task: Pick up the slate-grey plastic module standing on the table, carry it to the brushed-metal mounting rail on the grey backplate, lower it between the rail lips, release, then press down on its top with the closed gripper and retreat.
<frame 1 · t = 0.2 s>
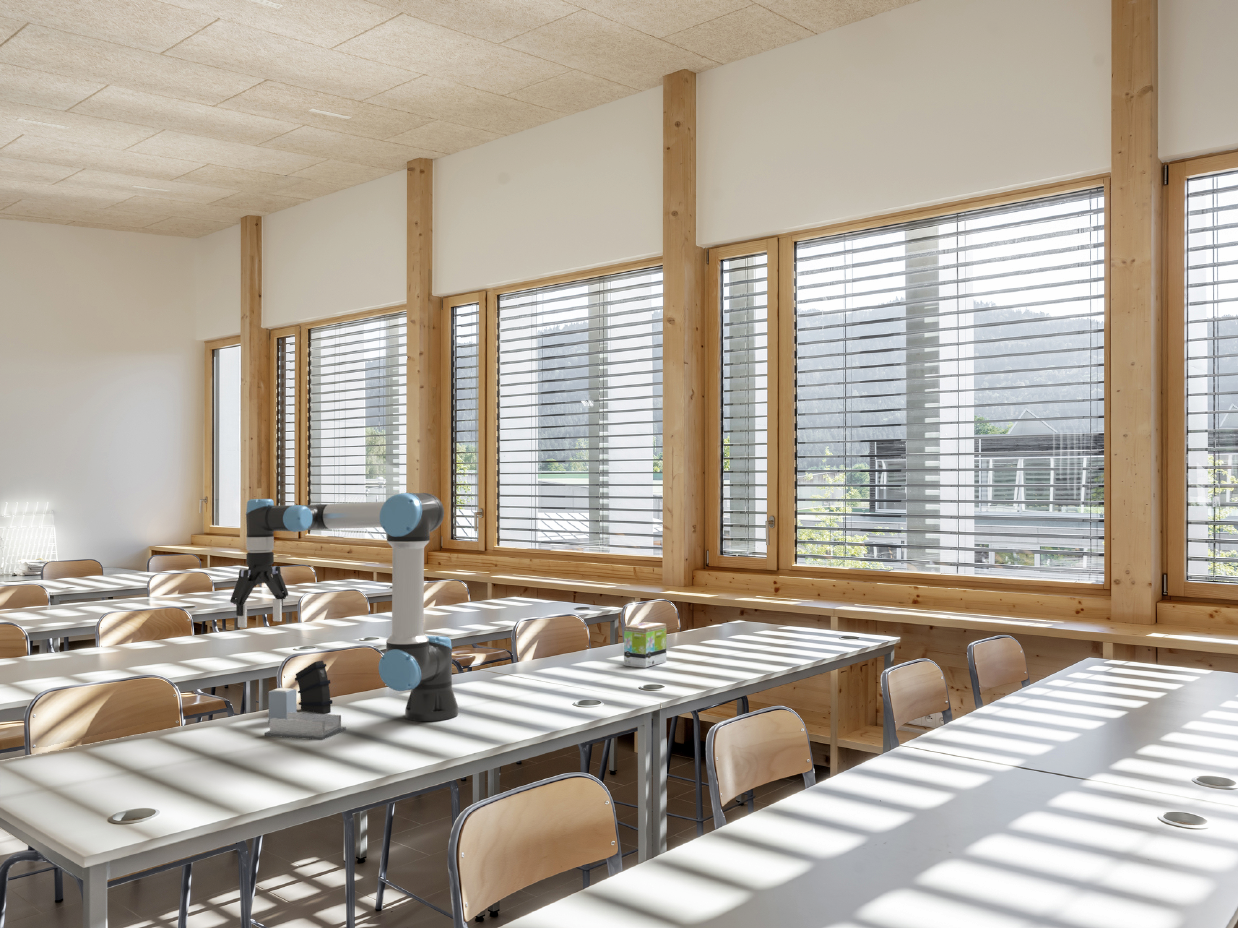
hand: (260, 624, 282), 27 cm above the table, tool pointing down, fingers open, 13 cm apart
rail: (305, 732, 262), on the table
magazine: (313, 711, 288), on the table
tea box: (645, 664, 358), on the table
module: (282, 722, 274), on the table
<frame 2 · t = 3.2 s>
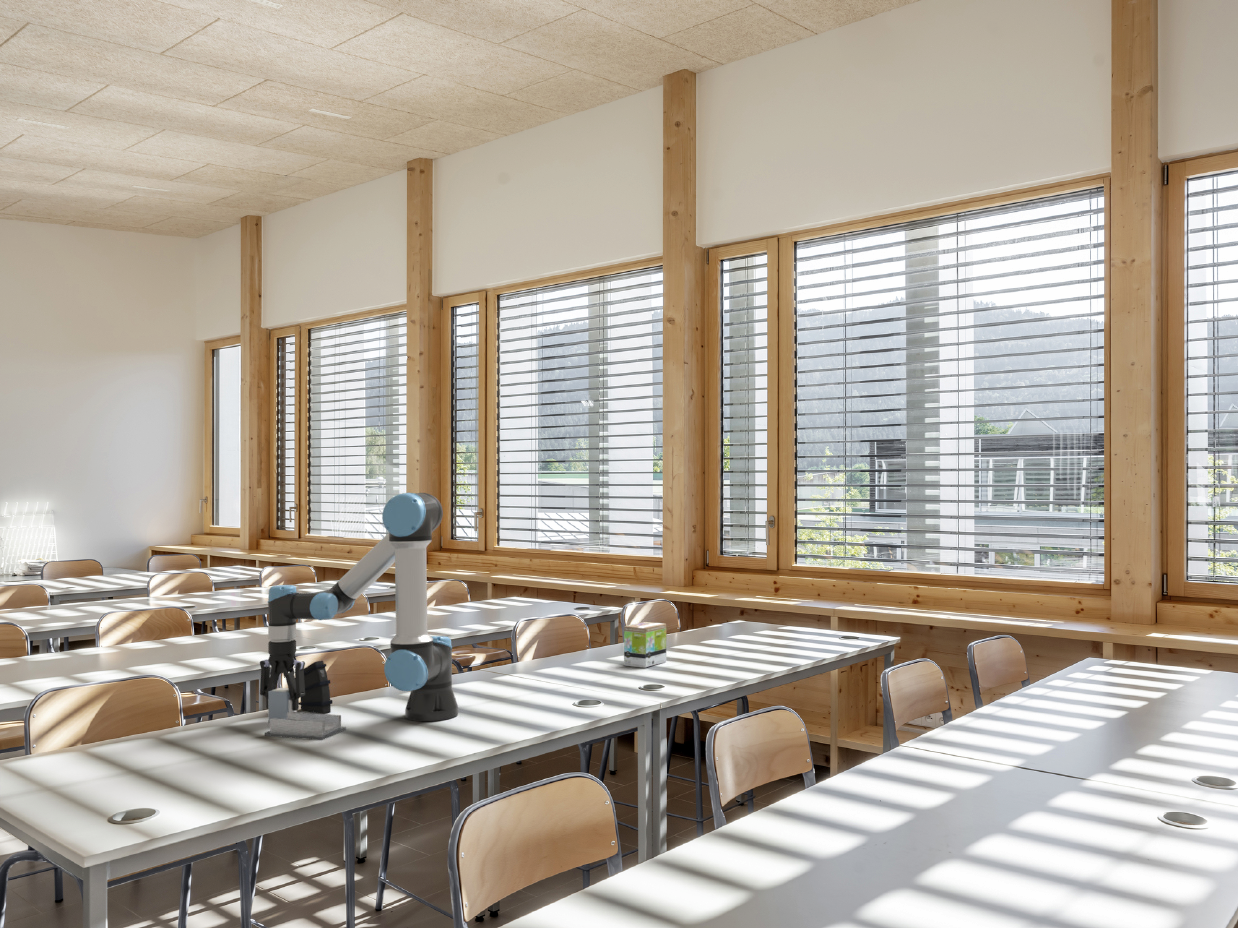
hand: (282, 720, 274), 0 cm above the table, tool pointing down, fingers closed on module, 6 cm apart
module: (282, 721, 274), on the table, touching gripper
everything else where it was.
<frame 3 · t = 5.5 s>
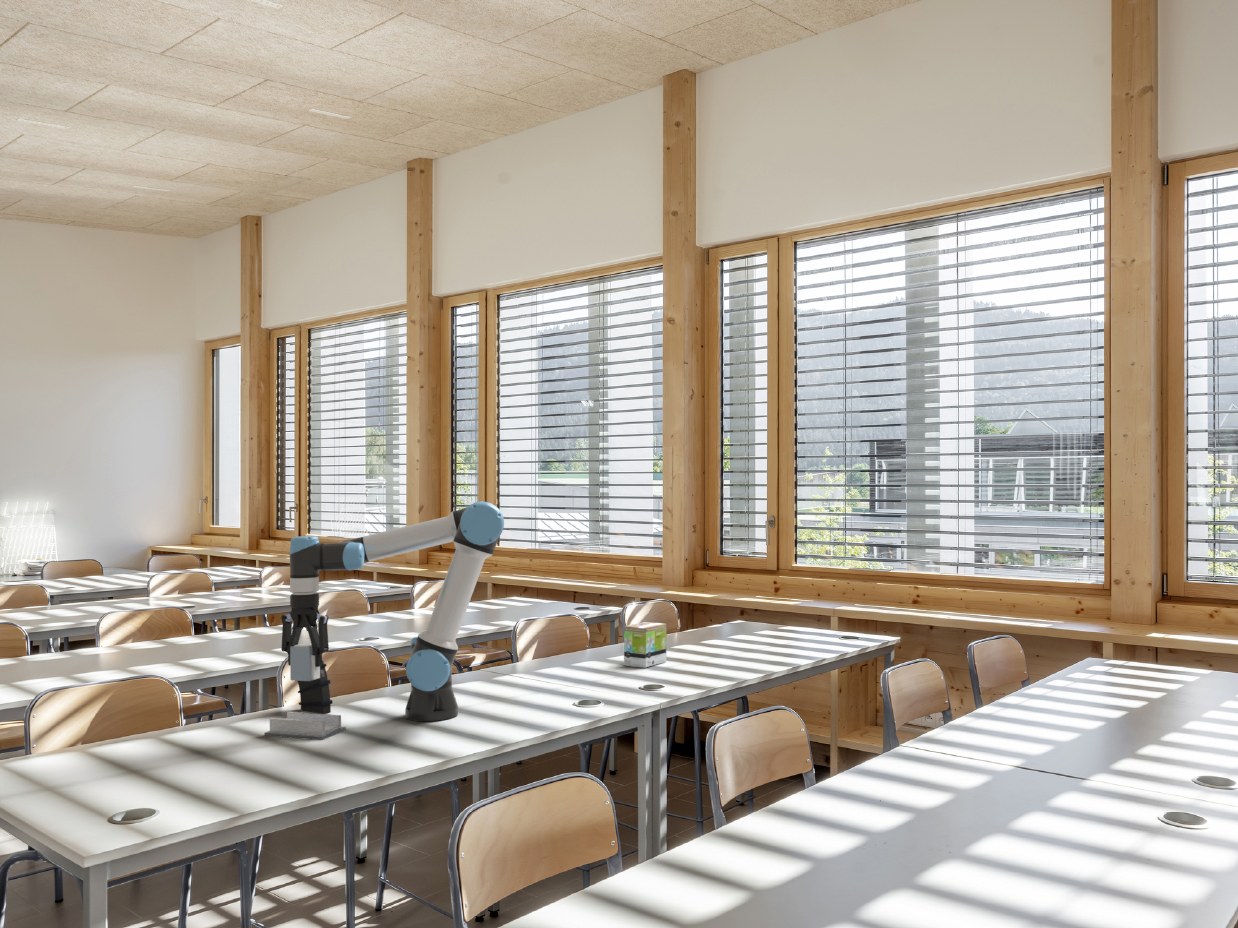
hand: (305, 677, 262), 15 cm above the table, tool pointing down, fingers closed on module, 6 cm apart
module: (305, 678, 262), point 14 cm above the table, touching gripper
everything else where it was.
when the fingers open (3 cm above the table, at t = 7.9 s): module drops 1 cm, resting on rail.
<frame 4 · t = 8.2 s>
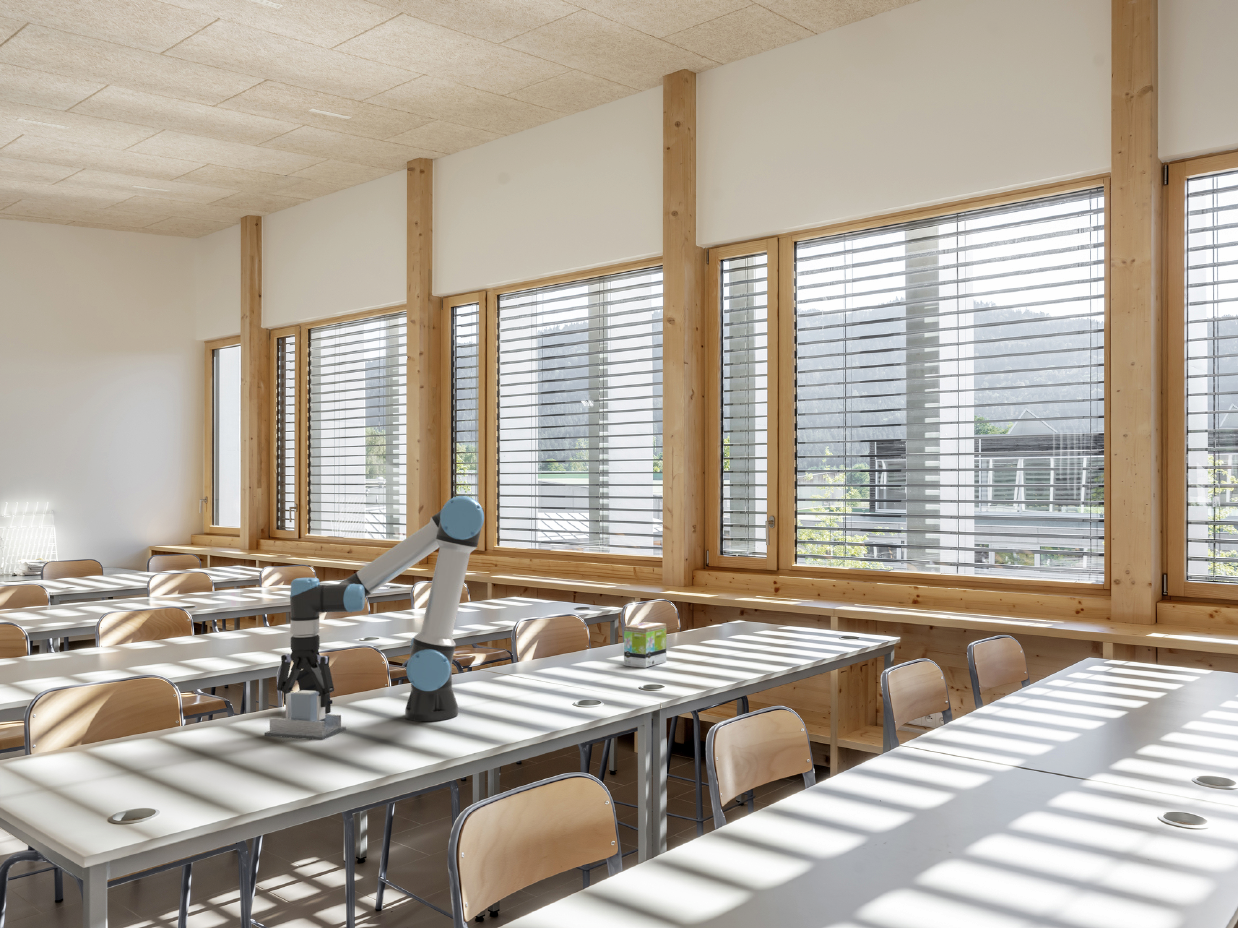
hand: (305, 717, 262), 4 cm above the table, tool pointing down, fingers open, 9 cm apart
module: (305, 725, 262), point 2 cm above the table, touching rail
everything else where it was.
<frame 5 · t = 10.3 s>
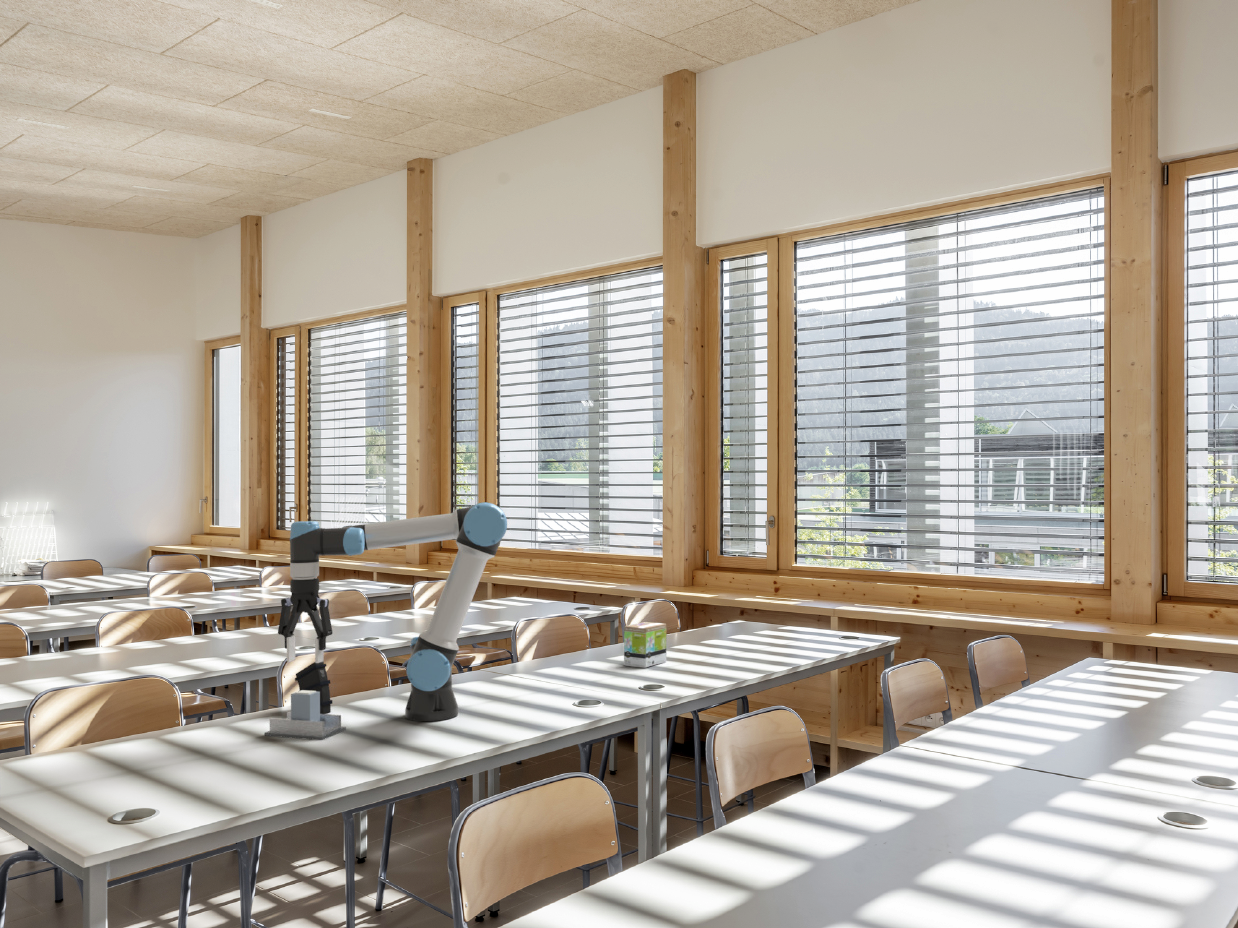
hand: (305, 661, 262), 19 cm above the table, tool pointing down, fingers open, 8 cm apart
nothing on the table moved.
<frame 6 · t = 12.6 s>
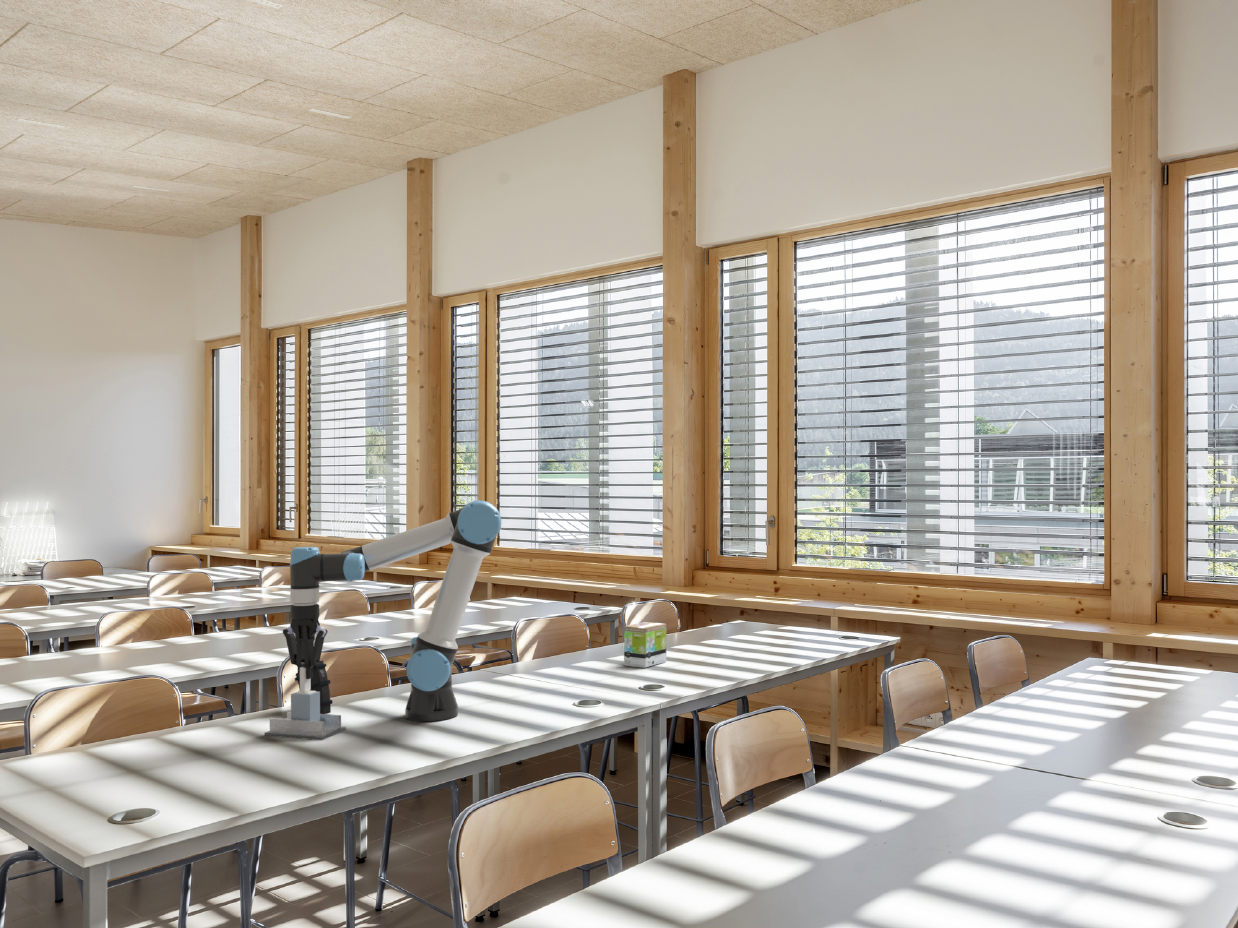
hand: (305, 690, 262), 11 cm above the table, tool pointing down, fingers closed
module: (305, 725, 262), point 2 cm above the table, touching gripper, rail
everything else where it was.
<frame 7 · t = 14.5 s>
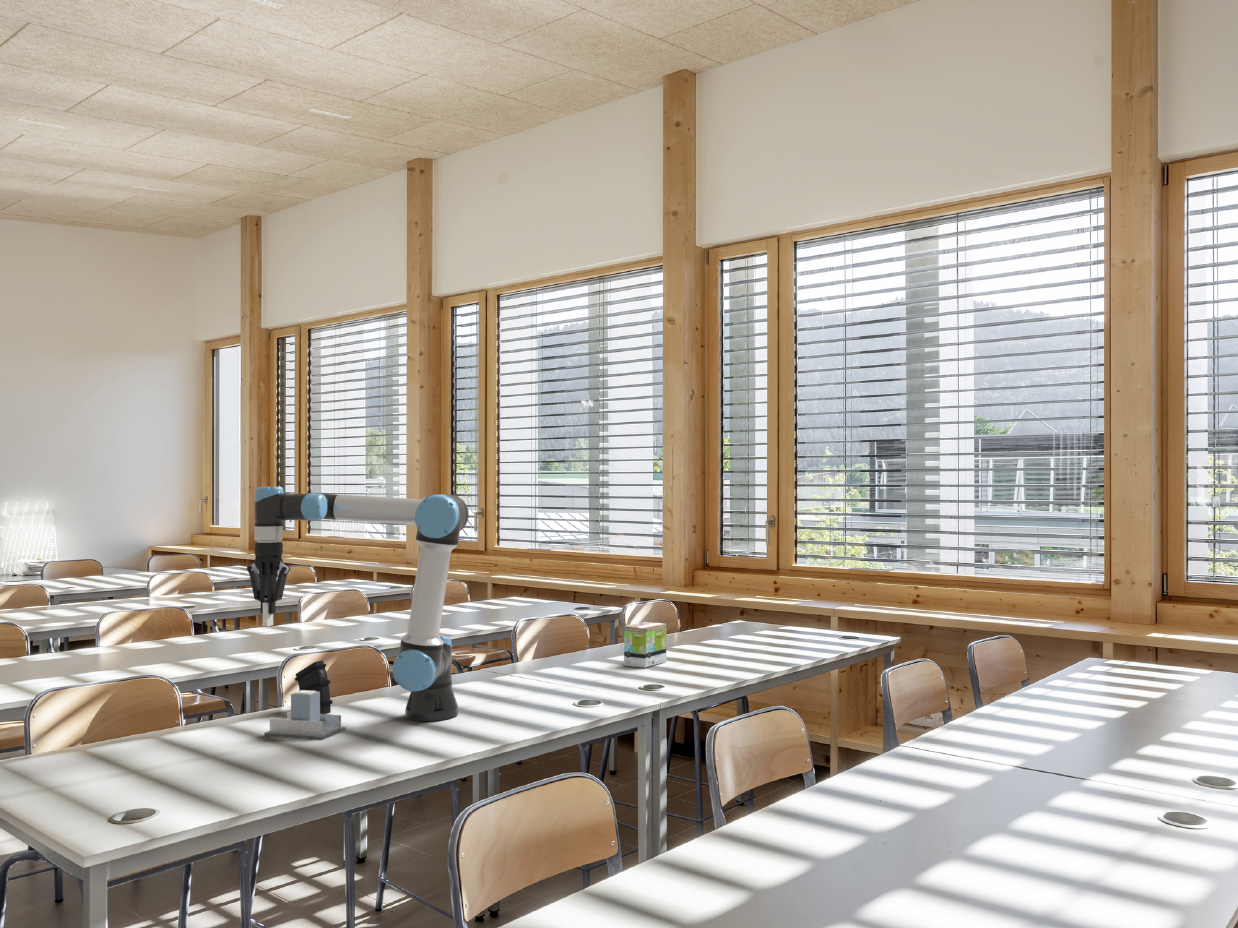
hand: (267, 625, 270), 28 cm above the table, tool pointing down, fingers closed
module: (305, 725, 262), point 2 cm above the table, touching rail
everything else where it was.
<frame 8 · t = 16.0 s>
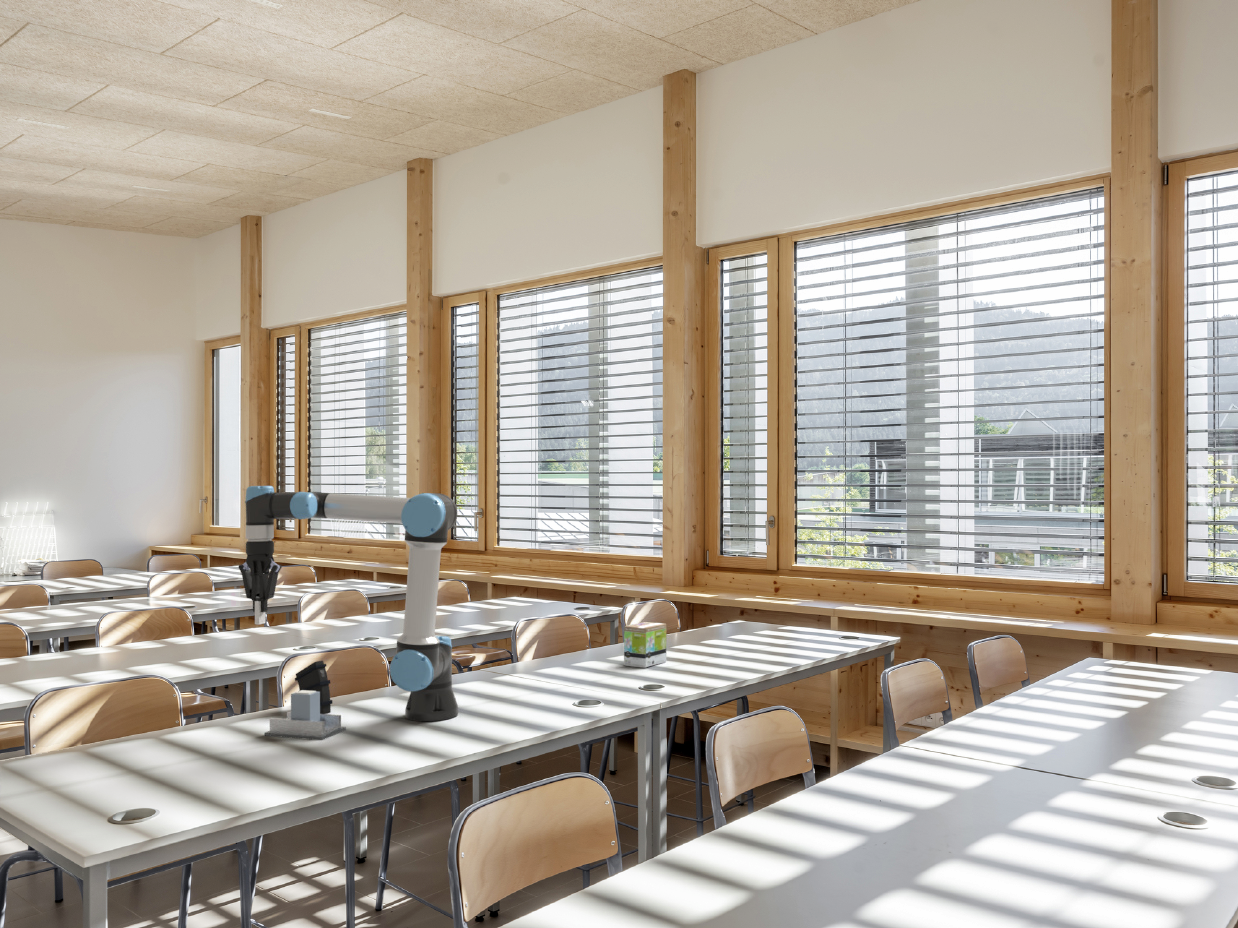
hand: (260, 623, 272), 28 cm above the table, tool pointing down, fingers closed
nothing on the table moved.
at the end: module inside the target area on the rail (0.0 cm from its centre), point 1.8 cm above the rail's base; module tilted 0°; the gripper is holding nothing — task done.
